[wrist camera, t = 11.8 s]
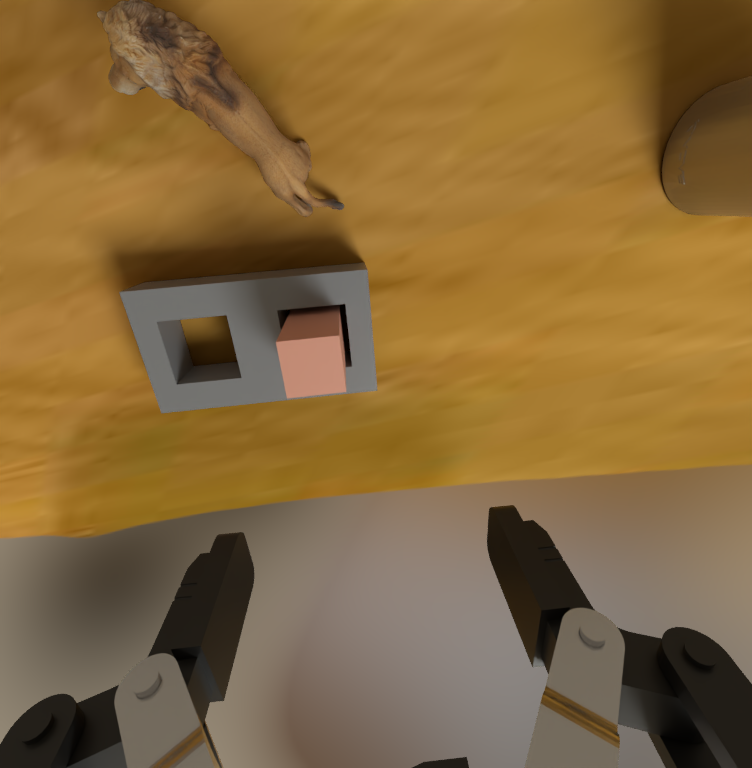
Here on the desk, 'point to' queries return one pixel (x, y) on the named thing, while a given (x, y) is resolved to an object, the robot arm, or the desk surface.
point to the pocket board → (244, 332)
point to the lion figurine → (205, 92)
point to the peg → (312, 352)
